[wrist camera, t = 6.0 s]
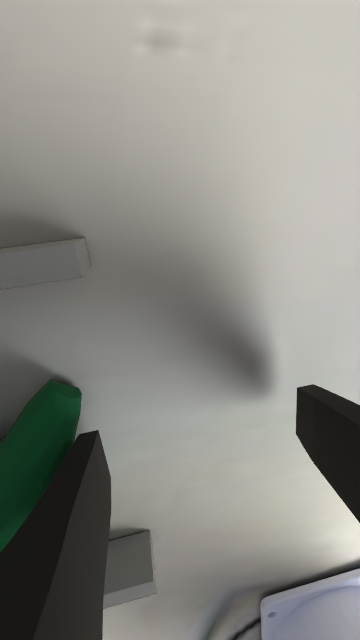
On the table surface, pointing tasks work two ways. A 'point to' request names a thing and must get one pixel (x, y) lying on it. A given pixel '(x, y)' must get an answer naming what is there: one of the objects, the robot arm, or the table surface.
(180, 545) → the table surface
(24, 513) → the green socks
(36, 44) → the table surface
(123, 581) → the u-shaped bracket
